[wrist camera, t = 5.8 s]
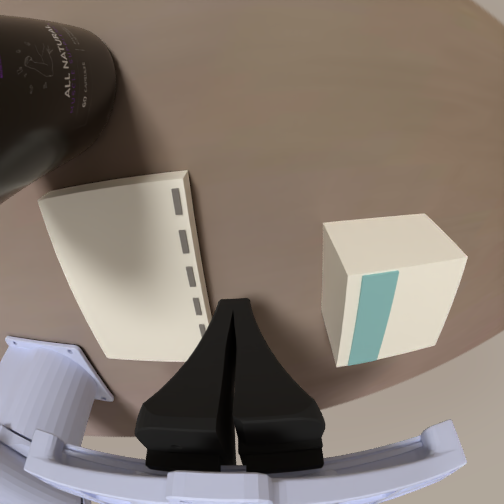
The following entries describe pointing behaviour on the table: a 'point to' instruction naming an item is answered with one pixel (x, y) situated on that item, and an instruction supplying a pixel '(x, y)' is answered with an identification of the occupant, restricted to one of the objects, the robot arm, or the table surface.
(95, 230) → the ticket
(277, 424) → the robot arm
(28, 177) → the supplement bottle
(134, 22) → the table surface
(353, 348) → the teal striped cube
